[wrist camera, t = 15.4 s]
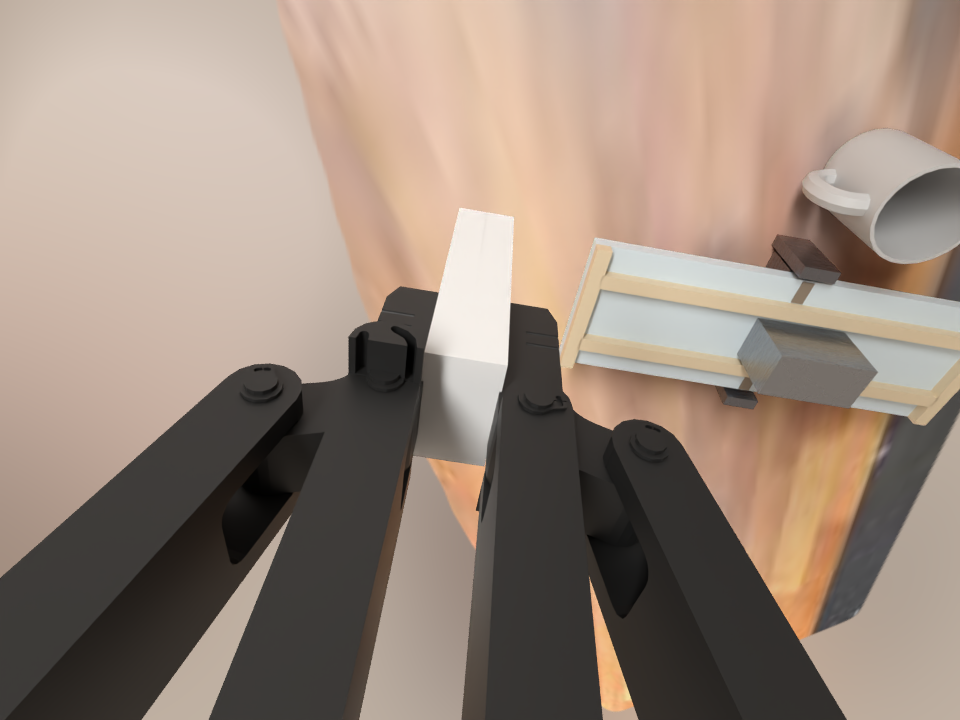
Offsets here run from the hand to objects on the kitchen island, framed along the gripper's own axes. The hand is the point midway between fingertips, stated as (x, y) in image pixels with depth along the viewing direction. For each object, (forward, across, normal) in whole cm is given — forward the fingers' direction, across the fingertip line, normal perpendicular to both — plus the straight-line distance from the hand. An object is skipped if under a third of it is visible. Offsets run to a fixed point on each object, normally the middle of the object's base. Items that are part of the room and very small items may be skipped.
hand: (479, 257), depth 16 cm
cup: (+33, +29, -4) cm, 44 cm away
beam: (+28, +27, -17) cm, 43 cm away
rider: (+27, +29, -17) cm, 43 cm away
